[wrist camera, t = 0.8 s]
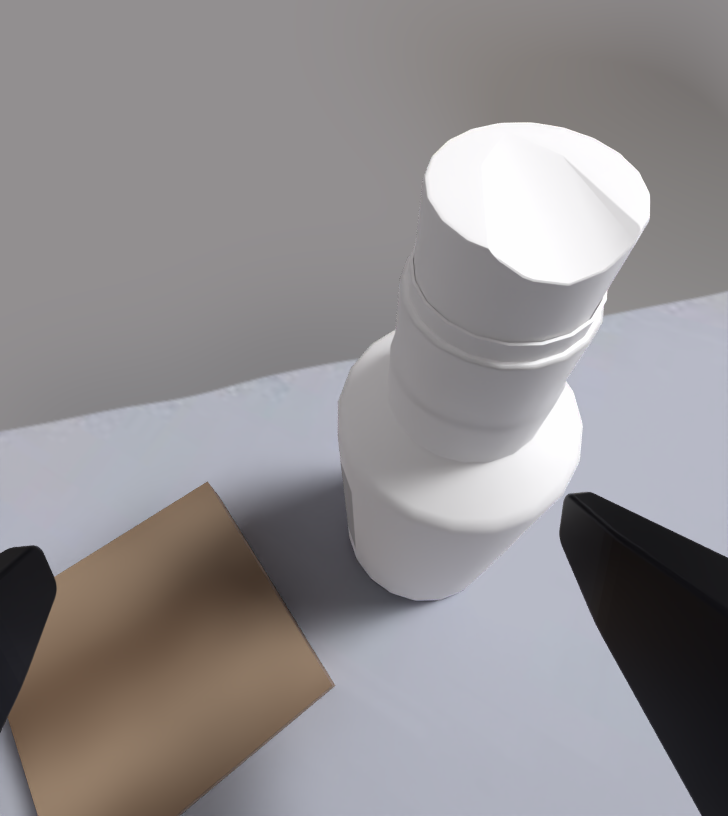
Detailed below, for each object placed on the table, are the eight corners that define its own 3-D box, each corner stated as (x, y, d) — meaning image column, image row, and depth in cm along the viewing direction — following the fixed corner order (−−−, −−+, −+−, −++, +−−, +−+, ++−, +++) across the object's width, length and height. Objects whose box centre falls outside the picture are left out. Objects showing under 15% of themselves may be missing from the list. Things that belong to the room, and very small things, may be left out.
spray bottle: (469, 450, 25) (642, 53, 9) (512, 586, 21) (899, 324, 6) (338, 472, 24) (288, 88, 9) (362, 616, 21) (350, 410, 5)
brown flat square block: (335, 685, 20) (332, 685, 18) (97, 884, 17) (65, 906, 15) (219, 496, 24) (207, 481, 22) (11, 629, 21) (-22, 624, 19)
